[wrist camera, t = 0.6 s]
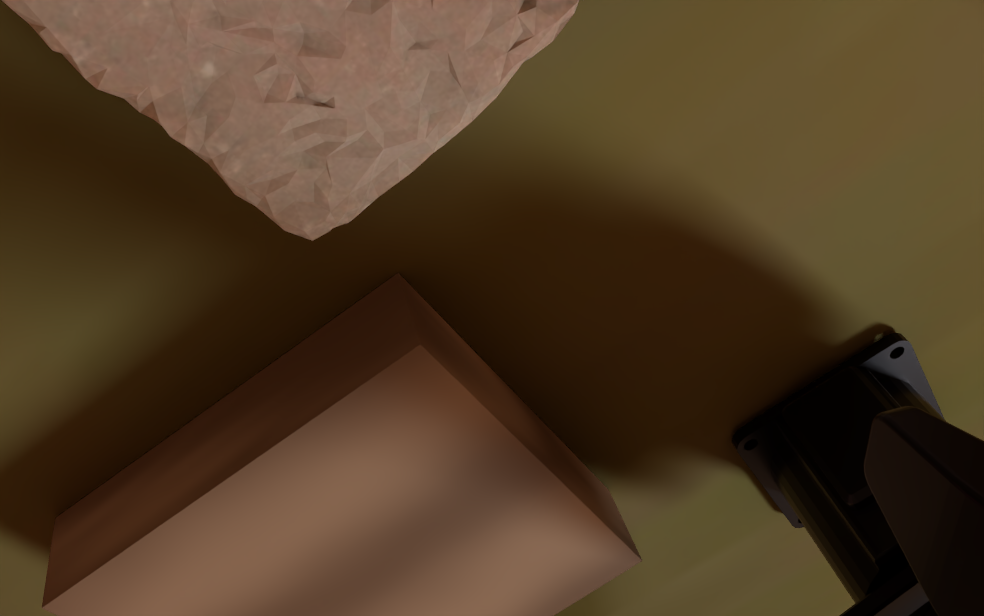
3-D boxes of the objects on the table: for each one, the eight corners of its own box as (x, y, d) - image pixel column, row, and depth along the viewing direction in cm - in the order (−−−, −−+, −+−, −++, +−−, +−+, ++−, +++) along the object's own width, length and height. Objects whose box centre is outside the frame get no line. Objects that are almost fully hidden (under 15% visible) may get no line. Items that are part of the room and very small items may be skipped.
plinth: (608, 489, 31) (642, 560, 29) (329, 668, 33) (340, 747, 31) (398, 272, 24) (420, 344, 21) (55, 518, 26) (41, 608, 23)
